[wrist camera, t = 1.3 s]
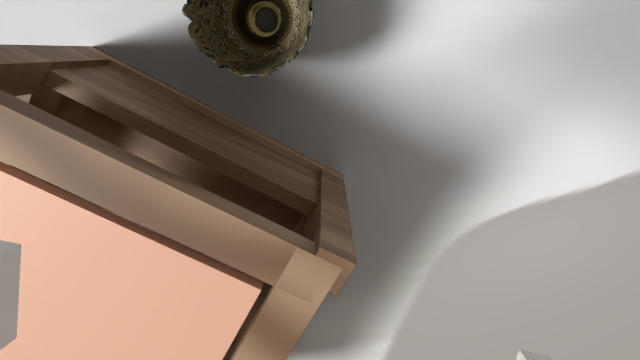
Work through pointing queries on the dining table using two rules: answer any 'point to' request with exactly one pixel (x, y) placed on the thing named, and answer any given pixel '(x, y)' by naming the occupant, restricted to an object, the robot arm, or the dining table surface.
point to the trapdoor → (112, 284)
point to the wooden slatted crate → (182, 179)
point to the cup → (249, 33)
